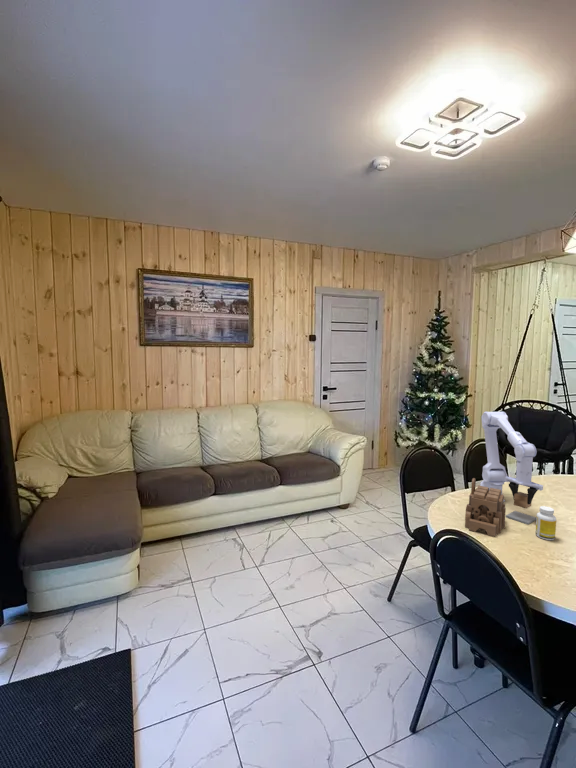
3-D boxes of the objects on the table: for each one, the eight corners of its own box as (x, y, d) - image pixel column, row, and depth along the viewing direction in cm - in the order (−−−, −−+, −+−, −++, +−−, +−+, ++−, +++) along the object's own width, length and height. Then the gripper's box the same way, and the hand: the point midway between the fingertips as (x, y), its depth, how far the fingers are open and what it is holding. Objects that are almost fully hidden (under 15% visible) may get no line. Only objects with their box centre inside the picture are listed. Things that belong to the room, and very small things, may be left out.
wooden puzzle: (501, 538, 148) (503, 492, 146) (460, 528, 156) (462, 484, 155) (507, 519, 166) (509, 477, 164) (470, 511, 174) (472, 471, 172)
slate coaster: (505, 517, 167) (505, 515, 167) (514, 512, 173) (514, 510, 173) (528, 524, 160) (528, 522, 160) (536, 519, 165) (536, 517, 165)
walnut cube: (513, 504, 167) (514, 493, 166) (518, 502, 170) (519, 491, 169) (526, 508, 163) (526, 497, 162) (531, 506, 166) (531, 495, 165)
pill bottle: (558, 541, 146) (560, 512, 145) (539, 539, 147) (541, 511, 146) (550, 534, 152) (552, 505, 151) (532, 532, 153) (534, 504, 152)
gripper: (502, 468, 168) (500, 498, 169) (539, 477, 157) (537, 509, 158) (509, 466, 172) (507, 495, 173) (545, 474, 161) (543, 505, 162)
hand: (522, 501), depth 166 cm, fingers closed on walnut cube, 5 cm apart
